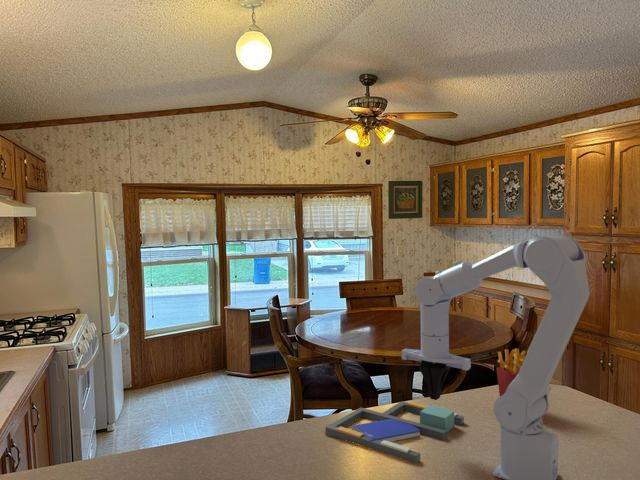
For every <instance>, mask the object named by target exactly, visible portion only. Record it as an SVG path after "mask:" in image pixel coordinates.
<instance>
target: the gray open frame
mask: <svg viewBox="0 0 640 480" xmlns="http://www.w3.org/2000/svg"><path fill="white" fill-rule="evenodd" d="M361 417H362V418H365V417H366V418H365V419H368V418H369V419H368V420H372V419H373V420H372V421H375V420H376V421H382V420H388V419H393V420H396V421H400V422H403V423H407V424H410V425H413V426H414V427H416V428H417V429H419V430H420V435H425V436H427V437H431V438H435V439H439V440H442V441H445V439H447V437H448V434H447V433H448V432H447V431H446V430H442V429H438V428H435V427H431V426H427V425H424V424H420V422H415V421H413V420H409V419H405V418H402V417H399V416H395V417H394V416H391V415H387V414H383V412H379V411H376V410H371V409H367V408H365V407H359V408H357V409H355V410H353V411H351V412H350V413H348V414H346V415H345V416H343V417H341V418H339V419H336V420H335V421H334V422H332V423H330V424H329V425H327V426H325V435H328V436H330V437H331V436H332V437H334V438H337V439H341V440H343V439H344V440H343V441H346V440H347V441H346V442H349V441H350V443H352V442H354V443H353V444H355V443H356V444H355V445H358V444H359V445H358V446H362V447H364V448H367V449H371V450H374V451H377V452H380V453H383V454H386V455H389V456H392V457H395V458H398V459H401V460H404V461H406V462H410V463H413V464H418V463H419V462H421V453H420V452H417V451H414V450H412V448H411V447H408V446H405V445H402V444H399V443H396V442H394V441H392V442H389V441H386V440H384V441H380V440H374V441H370V440H368V439H367V438H366V437H365V436H363V435H364V433H360V432H357V431H354V430H351V429H350V428H348V426H350V425H352V424H353V423H355V422H356V421H355V420H357V419H358V420H360V419H361ZM359 418H360V419H359ZM358 420H357V421H358ZM354 421H355V422H354ZM376 421H375V422H376ZM352 422H353V423H352ZM351 423H352V424H351ZM349 424H350V425H349Z"/></svg>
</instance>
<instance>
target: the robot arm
mask: <svg viewBox="0 0 640 480" xmlns="http://www.w3.org/2000/svg"><path fill="white" fill-rule="evenodd" d="M586 261H587V255H586V253H585V251H584V250H583V248H582V247H581V245H580V244H579V242H578V241H577V240H576V239H575V238H573V237H572V236H570V235H566V234H558V235H555V236H553V235H552V236H546V235H545V236H541V235H540V236H537V237H533V238H532V239H530V240H525V241H521V242H519V243H515V244H513V245H511V246H509V247H506V248H505V249H502V250H499V252H496V253H494V254H493V255H490V256H488V257H486V258H484V259H482V260H481V261H478V262H476V263H474V262H471V261H468V260H466V261H465V260H464V261H463V260H457V261H454V262H453V266H452V267H449V268H447V269H445V270H442V269H441V270H437V271H435V272H434V273H435V275H434V276H422V277H421V279H419V280H418V281H417V282H416V284H415V287H414V294H415V298H416V299H417V301H418V302H419V303H420V349H411V348H404V349H401V360H404V361H405V360H406V361H407V360H410V361H417V362H421V363H420V365H419V366H418V369H419V372H420V373H421V375H422V377H423V379H424V381H425V384H426V387H427V390H428V394H429V398H430V400H435V401H437V400H439V399H440V398H441V394H442V390H443V389H442V388H443V385H444V383H445V379H446V378H447V375H448V373H449V371H450V369H451V368H456V369H461V370H462V371H469V370H470V369H471V367H472V364H471V358H468V357H463V356H459V355H455V354H452V353H450V333H449V332H450V320H449V319H450V317H449V315H450V311H449V309H450V302H451V300H453V299H454V298H456V297H459V296H461V295H464V294H466V293H469V292H471V291H474V290H476V289H477V290H478V289H479V287H480V286H481V284H482V281H483V279H486V278H489V277H491V276H494V275H497V274H499V273H501V272H505V271H508V270H510V269H513V268H520V269H527V268H528V269H529V270H530V271H531V272H532V273H533V274H534V275H535V276H537V278H538V279H539V280H541V282H543V283H544V285H545V286H546V288H547V290H548V292H549V293H550V295H551V297H550V300H549V303H548V304H547V307H546V310H545V311H544V313H543V316H542V318H541V321H540V324H539V326H538V328H537V330H536V332H535V335H534V337H533V338H532V341H531V343H530V345H529V348H528V353H527V352H526V354H525V360H524V362H523V364H522V366H521V369H520V371H519V373H518V375H517V376H516V377H515V379H514V380H513V381H512V382H511V383H510V385H509V386H508V388H507V390H506V392H505V393H504V394H503V395H502V396H500V395H499V397H498V398H497V399H496V400H495V401H494V404H493V413H494V416H495V418H496V421H497V422H498V423H499V424H500V463H499V464H498V465H497V467H496V468H495V469H494V471H493V472H492V476H494V477H496V478H499V479H503V480H557V479H558V477H559V474H560V472H559V439H558V438H559V437H558V434H556V433H554V432H551V431H548V430H547V429H546V428H544V422H543V417H544V416H545V415H546V414H547V413H548V411H549V407H550V403H549V402H550V401H549V395H550V392H551V390H552V386H551V385H550V382H551V381H552V378H553V376H554V373H555V372H556V369H557V368H558V365H559V363H560V361H561V359H562V356H563V354H564V352H565V350H566V348H567V346H568V343H569V341H570V339H571V337H572V335H573V332H574V330H575V328H576V326H577V324H578V322H579V319H580V317H581V315H582V313H583V311H584V310H585V309H584V308H585V306H586V304H587V303H588V300H589V297H590V287H589V281H588V276H587V275H588V274H587V268H586Z"/></svg>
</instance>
